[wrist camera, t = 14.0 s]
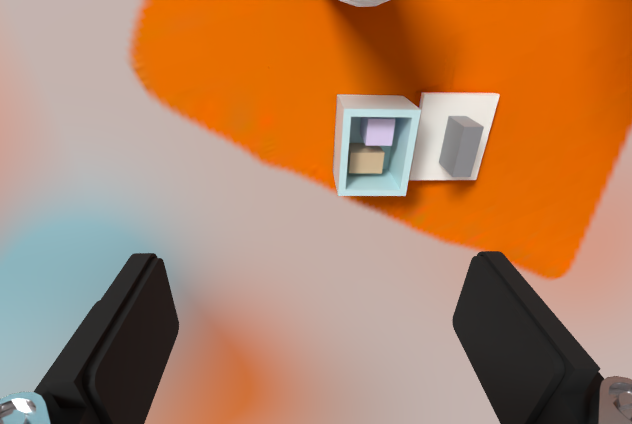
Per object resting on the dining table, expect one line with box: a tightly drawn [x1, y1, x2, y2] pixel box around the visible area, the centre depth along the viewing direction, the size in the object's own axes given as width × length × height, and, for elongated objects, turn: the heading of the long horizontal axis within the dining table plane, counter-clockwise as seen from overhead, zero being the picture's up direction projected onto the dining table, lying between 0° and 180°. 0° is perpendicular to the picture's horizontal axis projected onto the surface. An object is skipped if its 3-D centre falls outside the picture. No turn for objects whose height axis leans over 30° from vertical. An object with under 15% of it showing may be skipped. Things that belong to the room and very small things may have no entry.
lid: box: [409, 92, 500, 180], centre depth 42 cm, size 11×9×6 cm
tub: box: [333, 94, 421, 196], centre depth 41 cm, size 10×8×7 cm
